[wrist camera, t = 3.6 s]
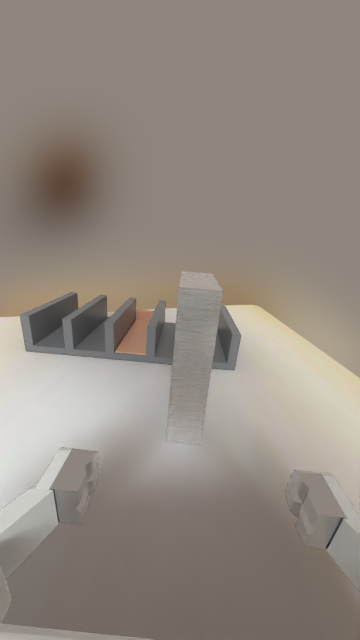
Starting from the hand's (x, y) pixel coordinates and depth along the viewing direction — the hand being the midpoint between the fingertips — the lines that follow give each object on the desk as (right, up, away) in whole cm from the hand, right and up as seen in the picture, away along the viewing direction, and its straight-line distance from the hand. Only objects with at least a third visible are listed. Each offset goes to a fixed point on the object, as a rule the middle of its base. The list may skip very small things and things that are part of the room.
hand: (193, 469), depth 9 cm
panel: (0, -3, +14) cm, 15 cm away
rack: (-8, +3, +29) cm, 30 cm away
